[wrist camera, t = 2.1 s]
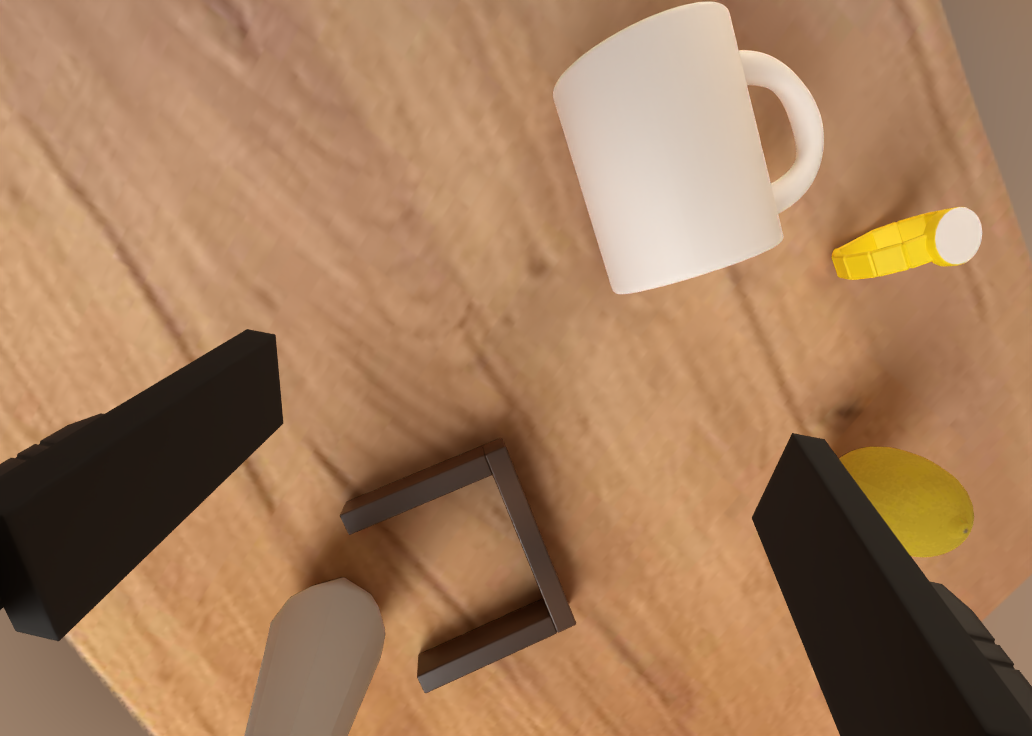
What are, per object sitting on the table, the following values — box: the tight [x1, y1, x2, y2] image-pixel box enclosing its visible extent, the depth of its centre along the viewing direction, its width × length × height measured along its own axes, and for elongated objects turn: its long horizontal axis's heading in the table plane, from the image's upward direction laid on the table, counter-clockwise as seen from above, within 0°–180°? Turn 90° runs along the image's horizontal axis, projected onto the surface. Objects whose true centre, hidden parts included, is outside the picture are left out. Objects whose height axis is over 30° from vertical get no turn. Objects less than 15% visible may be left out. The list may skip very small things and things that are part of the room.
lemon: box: [839, 447, 974, 557], centre depth 28 cm, size 6×6×8 cm
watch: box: [832, 207, 982, 280], centre depth 27 cm, size 6×3×6 cm, turn 116°
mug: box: [553, 2, 824, 294], centre depth 23 cm, size 12×10×8 cm
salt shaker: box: [245, 577, 385, 736], centre depth 21 cm, size 6×6×13 cm
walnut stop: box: [340, 438, 576, 693], centre depth 28 cm, size 11×9×2 cm
